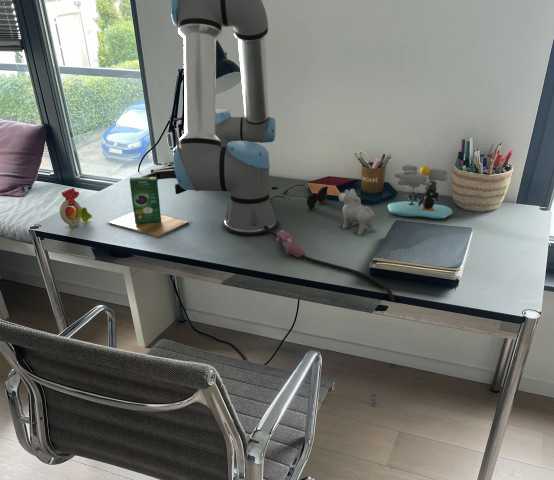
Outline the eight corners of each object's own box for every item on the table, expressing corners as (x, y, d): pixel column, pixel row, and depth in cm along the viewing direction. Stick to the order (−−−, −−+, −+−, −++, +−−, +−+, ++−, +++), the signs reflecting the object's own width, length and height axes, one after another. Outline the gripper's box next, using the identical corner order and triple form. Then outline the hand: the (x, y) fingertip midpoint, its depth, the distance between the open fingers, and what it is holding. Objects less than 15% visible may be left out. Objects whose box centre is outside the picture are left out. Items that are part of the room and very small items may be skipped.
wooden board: (188, 223, 170) (188, 221, 170) (159, 237, 161) (158, 236, 161) (139, 210, 179) (139, 209, 178) (109, 223, 170) (109, 222, 170)
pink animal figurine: (281, 250, 157) (270, 230, 153) (295, 242, 157) (284, 221, 153) (292, 265, 150) (281, 244, 145) (307, 256, 149) (296, 235, 145)
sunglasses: (307, 213, 177) (307, 197, 174) (264, 206, 184) (263, 191, 181) (328, 200, 186) (328, 185, 183) (286, 194, 194) (285, 180, 191)
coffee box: (162, 219, 172) (156, 175, 164) (162, 222, 169) (156, 178, 162) (135, 220, 170) (128, 177, 163) (135, 224, 168) (128, 180, 160)
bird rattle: (81, 235, 168) (97, 214, 172) (62, 206, 159) (80, 185, 163) (65, 231, 170) (82, 211, 174) (46, 203, 161) (64, 182, 165)
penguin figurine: (452, 212, 177) (461, 162, 168) (450, 224, 169) (459, 173, 160) (389, 205, 182) (395, 157, 174) (383, 216, 174) (389, 166, 165)
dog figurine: (345, 219, 172) (347, 184, 166) (375, 232, 164) (379, 195, 158) (332, 223, 170) (334, 188, 164) (362, 236, 162) (366, 199, 155)
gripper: (234, 186, 180) (192, 205, 165) (175, 173, 190) (130, 190, 176) (233, 161, 175) (189, 179, 161) (172, 150, 186) (126, 166, 171)
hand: (158, 185), depth 168 cm, fingers open, 13 cm apart
